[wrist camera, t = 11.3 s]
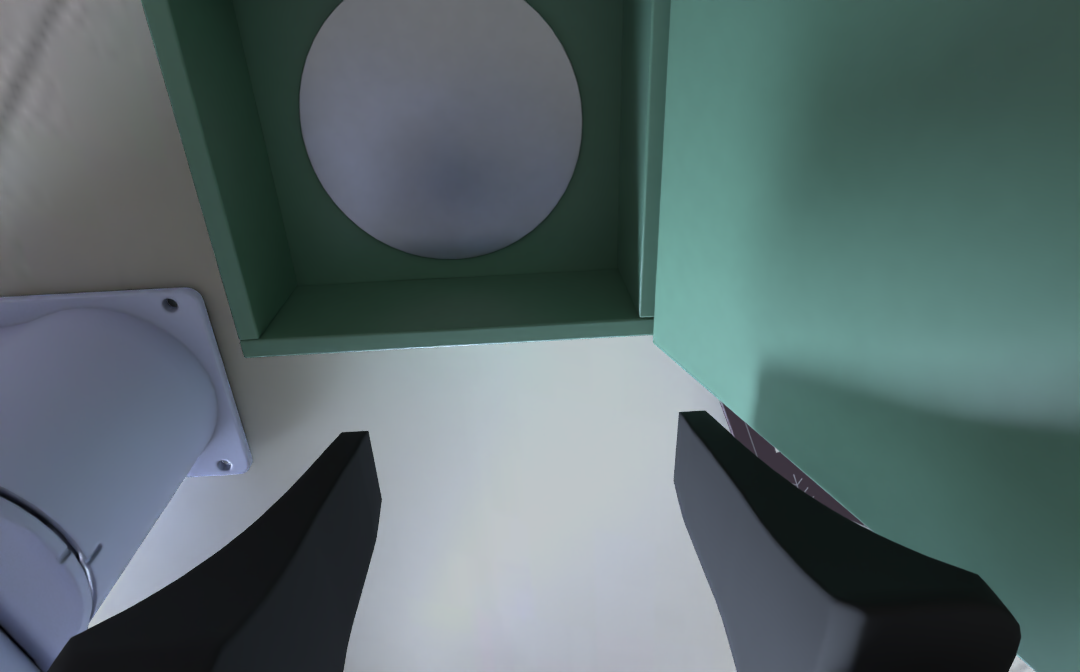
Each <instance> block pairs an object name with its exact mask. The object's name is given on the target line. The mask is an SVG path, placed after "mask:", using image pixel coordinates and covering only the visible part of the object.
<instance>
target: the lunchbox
mask: <svg viewBox="0 0 1080 672" xmlns="http://www.w3.org/2000/svg"><path fill="white" fill-rule="evenodd" d="M342 1H343V0H141V2H142V6H143V9H144V12H145V16H146V19H147V23H148V26H149V30H150V33H151V37H152V40H153V44H154V47H155V50H156V54H157V57H158V61H159V64H160V68H161V71H162V75H163V78H164V82H165V85H166V89H167V92H168V95H169V99H170V102H171V106H172V109H173V113H174V116H175V120H176V123H177V127H178V130H179V133H180V137H181V140H182V144H183V147H184V151H185V154H186V158H187V161H188V165H189V168H190V171H191V175H192V178H193V182H194V185H195V189H196V192H197V196H198V199H199V203H200V206H201V209H202V213H203V216H204V220H205V223H206V227H207V230H208V234H209V237H210V241H211V244H212V248H213V251H214V254H215V258H216V261H217V265H218V268H219V272H220V275H221V279H222V282H223V286H224V289H225V292H226V296H227V299H228V303H229V306H230V310H231V313H232V317H233V320H234V324H235V327H236V330H237V334H238V337H239V339H240V344H241V348H242V351H243V355H244V357H245V358H254V357H271V356H289V355H307V354H324V353H342V352H360V351H378V350H395V349H413V348H431V347H448V346H466V345H484V344H501V343H519V342H537V341H555V340H572V339H590V338H608V337H625V336H643V335H653V331H654V312H655V293H656V274H657V255H658V236H659V217H660V198H661V180H662V161H663V142H664V123H665V104H666V85H667V66H668V47H669V28H670V9H671V0H525V1H526V2H527V3H529V4H530V5H531V6H532V7H533V8H534V9H535V10H536V11H537V12H538V13H539V14H540V15H541V16H542V17H543V19H544V20H545V21H546V22H547V23H548V24H549V26H550V27H551V28H552V29H553V31H554V33H555V34H556V36H557V37H558V39H559V40H560V42H561V44H562V45H563V47H564V49H565V51H566V53H567V55H568V57H569V60H570V62H571V64H572V67H573V70H574V73H575V76H576V79H577V82H578V86H579V92H580V97H581V102H582V116H583V127H582V141H581V146H580V152H579V157H578V161H577V164H576V167H575V170H574V173H573V176H572V178H571V180H570V182H569V184H568V186H567V189H566V191H565V192H564V194H563V196H562V197H561V199H560V200H559V202H558V203H557V205H556V206H555V208H554V209H553V210H552V211H551V212H550V214H549V215H548V216H547V217H546V218H545V219H544V220H543V221H542V222H541V223H540V224H539V225H538V226H537V227H536V228H535V229H534V230H532V231H531V232H530V233H528V234H527V235H525V236H524V237H523V238H521V239H520V240H518V241H516V242H514V243H512V244H510V245H509V246H507V247H505V248H502V249H500V250H497V251H494V252H492V253H489V254H485V255H481V256H477V257H472V258H463V259H435V258H428V257H422V256H418V255H414V254H410V253H406V252H404V251H401V250H398V249H396V248H393V247H391V246H389V245H387V244H385V243H383V242H381V241H379V240H377V239H375V238H374V237H372V236H371V235H369V234H368V233H367V232H365V231H364V230H362V229H361V228H359V227H358V226H357V225H356V224H355V223H354V222H353V221H351V220H350V219H349V218H348V217H347V216H346V215H345V214H344V213H343V212H342V211H341V210H340V208H339V207H338V206H337V205H336V204H335V203H334V202H333V200H332V199H331V198H330V196H329V195H328V193H327V192H326V191H325V189H324V188H323V186H322V184H321V182H320V181H319V179H318V177H317V175H316V173H315V171H314V169H313V167H312V164H311V162H310V159H309V157H308V154H307V152H306V148H305V144H304V140H303V137H302V132H301V125H300V117H299V91H300V83H301V75H302V71H303V68H304V64H305V60H306V56H307V54H308V52H309V49H310V47H311V44H312V42H313V40H314V38H315V36H316V34H317V33H318V31H319V29H320V28H321V26H322V24H323V23H324V21H325V20H326V19H327V17H328V16H329V15H330V14H331V13H332V11H333V10H334V9H335V8H336V7H337V6H338V5H339V4H340V3H341V2H342Z"/></svg>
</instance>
